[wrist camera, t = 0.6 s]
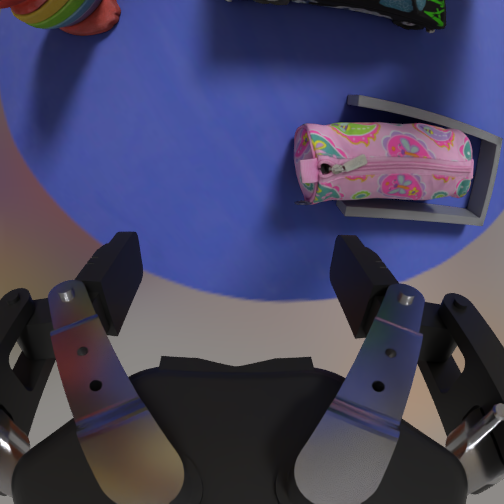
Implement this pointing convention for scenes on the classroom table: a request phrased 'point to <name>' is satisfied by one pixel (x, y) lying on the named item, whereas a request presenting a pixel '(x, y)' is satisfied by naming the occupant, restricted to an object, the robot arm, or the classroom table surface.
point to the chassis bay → (422, 210)
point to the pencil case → (381, 161)
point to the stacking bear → (67, 14)
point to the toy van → (388, 10)
